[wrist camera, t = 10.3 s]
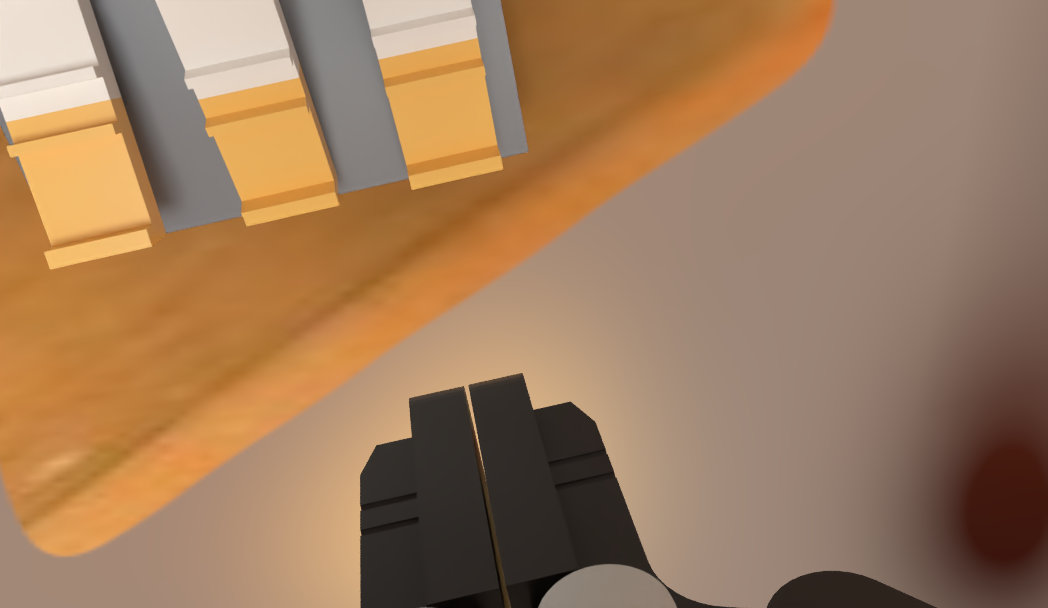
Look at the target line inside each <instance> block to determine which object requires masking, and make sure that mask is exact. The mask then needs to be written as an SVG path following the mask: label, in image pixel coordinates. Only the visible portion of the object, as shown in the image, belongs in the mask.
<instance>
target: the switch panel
mask: <svg viewBox="0 0 1048 608" xmlns="http://www.w3.org/2000/svg"><path fill="white" fill-rule="evenodd" d="M90 3H91V6H92V9H93V12H94V15H95V18H96V21H97V24H98V27H99V30H100V33H101V37H102V40H103V43H104V46H105V49H106V52H107V55H108V58H109V61H110V64H111V67H112V70H113V73H114V76H115V79H116V82H117V85H118V88H119V91H120V94H121V97H122V100H123V103H124V106H125V109H126V112H127V115H128V118H129V121H130V125H131V128H132V131H133V134H134V137H135V140H136V143H137V146H138V149H139V152H140V155H141V158H142V161H143V164H144V167H145V170H146V173H147V176H148V179H149V182H150V185H151V188H152V191H153V194H154V197H155V200H156V203H157V206H158V209H159V213H160V216H161V219H162V222H163V225H164V228H165V231H166V233H170V232H174V231H178V230H183V229H187V228H192V227H196V226H201V225H205V224H210V223H214V222H219V221H223V220H227V219H232V218H236V217H241V216H242V214H241V205H242V201H241V199H240V196H239V194H238V192H237V189H236V187H235V185H234V182H233V180H232V178H231V175H230V173H229V171H228V168H227V166H226V164H225V161H224V159H223V157H222V154H221V152H220V150H219V147H218V145H217V143H216V140H215V138H214V136H212V137H209V136H208V134H207V131H206V129H205V124H206V117H205V115H204V113H203V110H202V108H201V106H200V103H199V101H198V99H197V96H196V94H195V92H194V89H189V90H188V88H187V85H186V83H185V81H184V76H185V68H184V66H183V64H182V62H181V59H180V57H179V55H178V52H177V50H176V48H175V45H174V43H173V41H172V38H171V36H170V34H169V31H168V29H167V27H166V24H165V22H164V20H163V17H162V15H161V13H160V10H159V8H158V6H157V3H156V1H155V0H90ZM279 3H280V6H281V9H282V12H283V15H284V18H285V21H286V24H287V27H288V30H289V33H290V36H291V39H292V42H293V45H294V48H295V51H296V54H297V57H298V60H299V63H300V66H301V69H302V72H303V75H304V78H305V81H306V84H307V87H308V90H309V93H310V96H311V99H312V102H313V105H314V108H315V111H316V114H317V117H318V120H319V123H320V126H321V129H322V132H323V135H324V138H325V141H326V144H327V147H328V150H329V153H330V156H331V159H332V162H333V165H334V168H335V171H336V174H337V180H338V193H339V194H343V193H347V192H352V191H356V190H361V189H365V188H370V187H374V186H379V185H383V184H388V183H392V182H396V181H401V180H405V179H409V177H408V172H407V166H406V162H405V158H404V155H403V151H402V147H401V143H400V140H399V136H398V132H397V128H396V125H395V121H394V117H393V113H392V109H391V106H390V102H389V98H388V97H387V94H386V90H385V86H384V80H383V76H382V72H381V68H380V64H379V61H378V57H377V53H376V49H375V48H374V45H373V42H372V38H371V32H370V27H369V23H368V19H367V16H366V12H365V8H364V4H363V1H362V0H279ZM471 4H472V8H473V11H474V14H475V18H476V24H477V26H476V31H477V37H478V42H479V47H480V53H481V58H482V61H483V64H484V68H485V73H486V76H485V80H486V86H487V91H488V96H489V102H490V107H491V113H492V118H493V124H494V129H495V135H496V140H497V145H498V148H499V151H500V155H501V158H503V157H508V156H512V155H516V154H521V153H525V152H528V146H527V141H526V135H525V130H524V124H523V119H522V114H521V108H520V103H519V97H518V92H517V87H516V81H515V76H514V70H513V65H512V59H511V54H510V49H509V43H508V38H507V32H506V27H505V22H504V16H503V11H502V5H501V0H471ZM0 126H1V128H2V130H3V132H4V134H5V136H6V139H7V141H8V143H9V145H14V143H13V140H12V138H11V135H10V132H9V129H8V127H7V124H6V121H5V119H4V116H3V113H2V110H1V108H0ZM15 158H16V160H17V162H18V164H19V166H20V168H21V170H22V173H23V175H24V177H25V179H26V181H27V178H26V176H25V173H24V170H23V167H22V165H21V162H20V159H19V157H18V156H16V157H15ZM27 183H28V181H27ZM28 185H29V184H28ZM29 187H30V186H29Z"/></svg>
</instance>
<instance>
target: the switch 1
mask: <svg viewBox="0 0 1048 608" xmlns="http://www.w3.org/2000/svg"><path fill="white" fill-rule="evenodd" d="M0 108H1V110H2V113H3V116H4V119H5V121H6V124H7V127H8V129H9V132H10V135H11V138H12V140H13V143H14V145H10V146H6V147H7V150H8V153H9V155H10V158H11V157H16V156H18V157H19V159H20V162H21V165H22V167H23V170H24V173H25V176H26V178H27V181H28V184H29V186H30V189H31V192H32V195H33V197H34V200H35V203H36V205H37V208H38V211H39V214H40V216H41V219H42V222H43V224H44V227H45V230H46V233H47V235H48V238H49V241H50V243H51V246H52V248H50V249H48V250H46V251H45V252H44V254H45V257H46V259H47V262H48V265H49V268H50V269H55V268H59V267H63V266H68V265H72V264H77V263H81V262H86V261H90V260H95V259H99V258H103V257H108V256H112V255H117V254H121V253H126V252H130V251H134V250H139V249H143V248H148V247H152V246H153V245H155V244H156V243H157V242H158V241H160V240H161V239H162V238H163V237H164V236H166V235H167V234H166V231H165V228H164V225H163V222H162V219H161V216H160V213H159V209H158V206H157V203H156V200H155V197H154V194H153V191H152V188H151V185H150V182H149V179H148V176H147V173H146V170H145V167H144V164H143V161H142V158H141V155H140V152H139V149H138V146H137V143H136V140H135V137H134V134H133V131H132V128H131V125H130V121H129V118H128V115H127V112H126V109H125V106H124V103H123V100H122V97H121V94H120V91H119V88H118V85H117V82H116V79H115V76H114V73H113V70H112V67H111V64H110V61H109V58H108V55H107V52H106V49H105V46H104V43H103V40H102V37H101V33H100V30H99V27H98V24H97V21H96V18H95V15H94V12H93V9H92V6H91V3H90V0H0Z"/></svg>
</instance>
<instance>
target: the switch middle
mask: <svg viewBox="0 0 1048 608" xmlns="http://www.w3.org/2000/svg"><path fill="white" fill-rule="evenodd" d="M155 1H156V3H157V6H158V8H159V10H160V13H161V15H162V17H163V20H164V22H165V24H166V27H167V29H168V31H169V34H170V36H171V38H172V41H173V43H174V45H175V48H176V50H177V52H178V55H179V57H180V59H181V62H182V64H183V66H184V68H185V76H184V81H185V83H186V85H187V88H188V90H189V89H194V92H195V94H196V96H197V99H198V101H199V103H200V106H201V108H202V110H203V113H204V115H205V117H206V124H205V129H206V131H207V134H208V136H209V137H212V136H214V138H215V140H216V143H217V145H218V147H219V150H220V152H221V154H222V157H223V159H224V161H225V164H226V166H227V168H228V171H229V173H230V175H231V178H232V180H233V182H234V185H235V187H236V189H237V192H238V194H239V196H240V199H241V201H242V205H241V214H242V216H243V219H244V221H245V223H246V226H251V225H255V224H260V223H264V222H269V221H273V220H277V219H282V218H286V217H291V216H295V215H300V214H304V213H308V212H313V211H317V210H322V209H326V208H331V207H335V206H340V205H339V193H338V180H337V174H336V171H335V168H334V165H333V162H332V159H331V156H330V153H329V150H328V147H327V144H326V141H325V138H324V135H323V132H322V129H321V126H320V123H319V120H318V117H317V114H316V111H315V108H314V105H313V102H312V99H311V96H310V93H309V90H308V87H307V84H306V81H305V78H304V75H303V72H302V69H301V66H300V63H299V60H298V57H297V54H296V51H295V48H294V45H293V42H292V39H291V36H290V33H289V30H288V27H287V24H286V21H285V18H284V15H283V12H282V9H281V6H280V3H279V0H155Z"/></svg>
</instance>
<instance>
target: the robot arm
mask: <svg viewBox="0 0 1048 608" xmlns="http://www.w3.org/2000/svg"><path fill="white" fill-rule="evenodd" d="M469 391H470V396H471V402H472V406H473V412H474V417H475V423H476V428H477V434H478V439H479V444H480V450H481V455H482V461H483V465H482V461H481V457H480V452H479V448H478V443H477V439H476V435H475V431H474V426H473V422H472V418H471V413H470V409H469V405H468V400H467V396H466V392H465V388H464V386H463V387H458V388H454V389H449V390H445V391H440V392H435V393H431V394H427V395H422V396H417V397H413V398H410V399H409V407H410V419H411V431H412V438H407V439H403V440H398V441H394V442H389V443H385V444H381V445H377V446H376V447H375V449H374V451H373V453H372V455H371V456H370V458H369V460H368V462H367V464H366V466H365V467H364V469H363V471H362V473H361V475H360V506H361V511H360V517H361V518H360V526H361V527H360V530H361V540H360V544H361V545H360V550H361V551H360V552H361V553H360V554H361V555H360V557H361V558H360V563H361V564H360V567H361V608H734V607H720V606H712V605H707V604H702V603H699V602H696V601H693V600H690V599H687V598H685V597H684V596H681V595H680V594H678V593H676V592H674V591H673V590H672V589H670V588H669V587H667V586H666V585H665V584H664V583H663V582H662V581H661V580H660V579H659V578H658V577H657V576H656V574H655V573H654V572H653V570H652V569H651V566H650V564H649V563H648V560H647V558H646V555H645V552H644V550H643V547H642V544H641V542H640V539H639V536H638V534H637V531H636V528H635V526H634V523H633V520H632V518H631V515H630V512H629V510H628V508H627V505H626V502H625V499H624V497H623V494H622V491H621V489H620V486H619V483H618V481H617V478H615V474H614V470H613V468H612V465H611V462H610V460H609V457H608V455H607V454H606V449H605V446H604V444H603V442H602V439H601V436H600V433H599V431H598V428H597V425H596V423H595V421H593V420H592V419H591V418H590V417H589V416H587V415H586V414H585V413H584V412H583V411H581V410H580V409H579V408H578V407H576V406H575V405H574V404H573V403H571V402H567V403H562V404H558V405H553V406H549V407H545V408H540V409H536V410H533V408H532V404H531V401H530V397H529V394H528V390H527V387H526V383H525V380H524V376H523V374H522V373H520V374H516V375H511V376H507V377H502V378H498V379H493V380H489V381H484V382H479V383H475V384H470V385H469ZM483 466H484V469H483ZM484 471H485V474H484ZM485 477H486V478H485ZM767 608H936V607H934V606H932V605H930V604H927V603H925V602H923V601H921V600H918V599H916V598H914V597H912V596H910V595H907V594H905V593H903V592H901V591H898V590H896V589H894V588H892V587H890V586H887V585H885V584H883V583H881V582H878V581H876V580H873V579H871V578H868V577H865V576H863V575H859V574H854V573H850V572H842V571H822V572H814V573H810V574H807V575H803V576H800V577H798V578H796V579H793V580H791V581H790V582H788V583H787V584H785V585H784V586H782V587H781V588H780V589H779V590H778V591H777V592H776V593H775V594H774V595H773V597H772V599H771V600H770V602H769V603H768V606H767Z"/></svg>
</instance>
